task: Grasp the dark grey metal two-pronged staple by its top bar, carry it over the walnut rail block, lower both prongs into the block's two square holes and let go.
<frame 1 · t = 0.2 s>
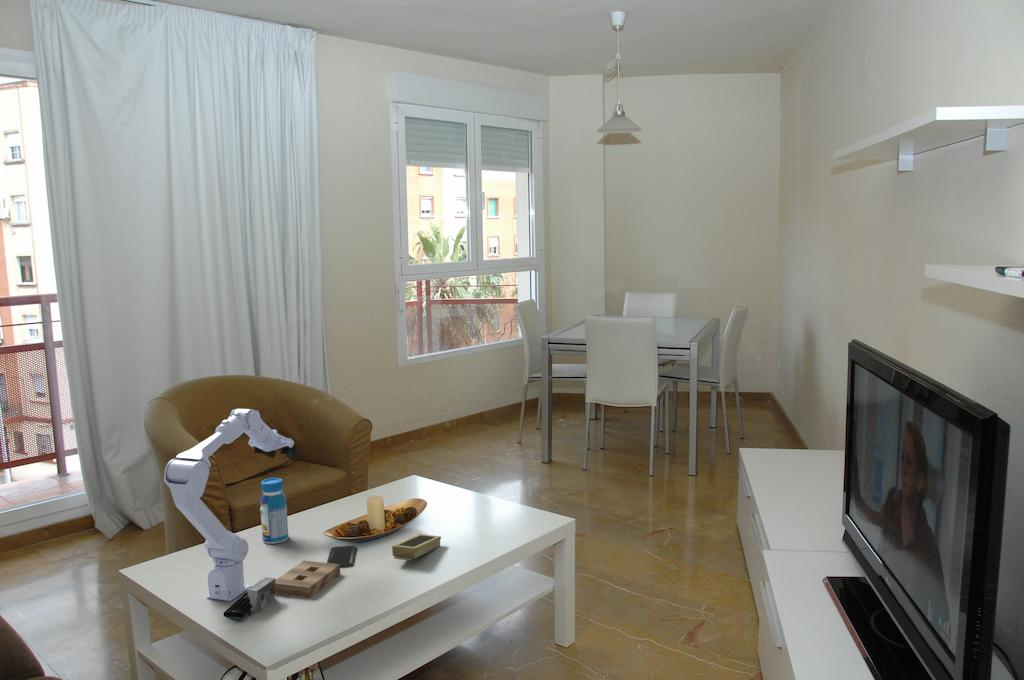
hand: (284, 455, 242), 32 cm above the table, tool tilted 50°, fingers open, 7 cm apart
rail block: (307, 583, 224), on the table
beverage bottle: (275, 540, 259), on the table
box: (419, 554, 244), on the table
metal staple: (263, 605, 211), on the table
phone: (341, 559, 242), on the table
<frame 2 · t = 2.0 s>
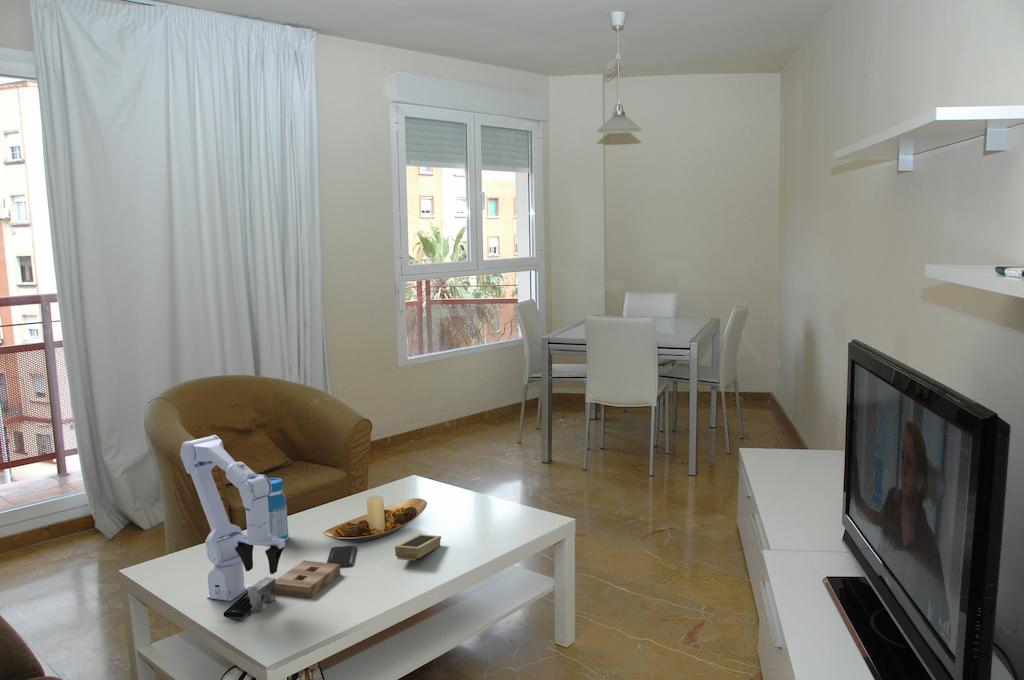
hand: (261, 571, 210), 9 cm above the table, tool pointing down, fingers open, 7 cm apart
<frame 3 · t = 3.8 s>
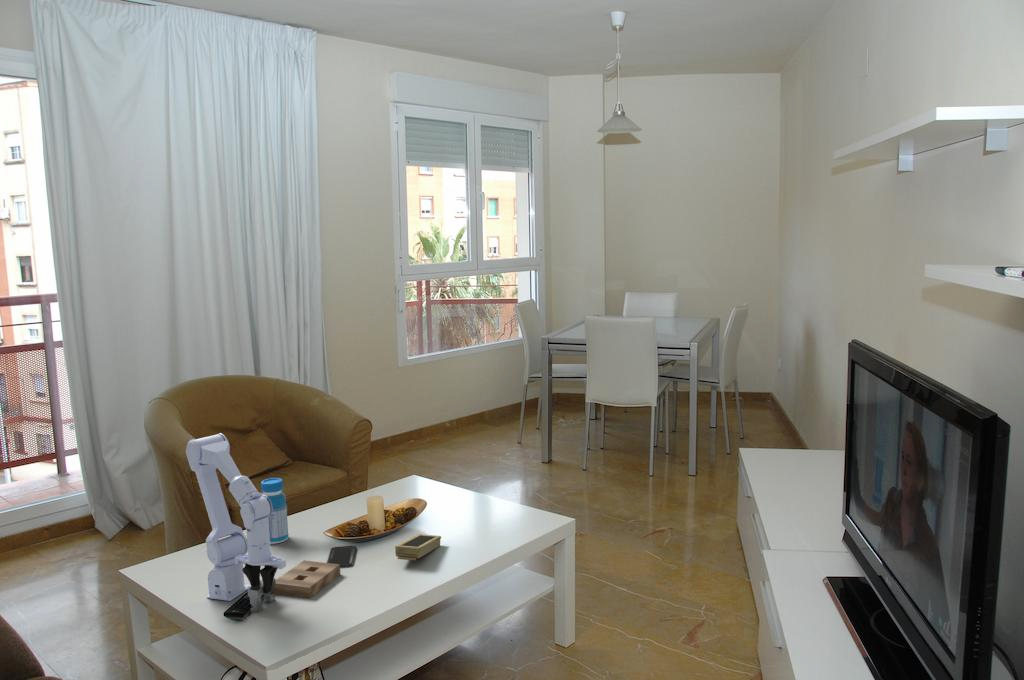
hand: (262, 591, 211), 4 cm above the table, tool pointing down, fingers closed on metal staple, 3 cm apart
metal staple: (263, 605, 211), on the table, touching gripper
everything else where it was.
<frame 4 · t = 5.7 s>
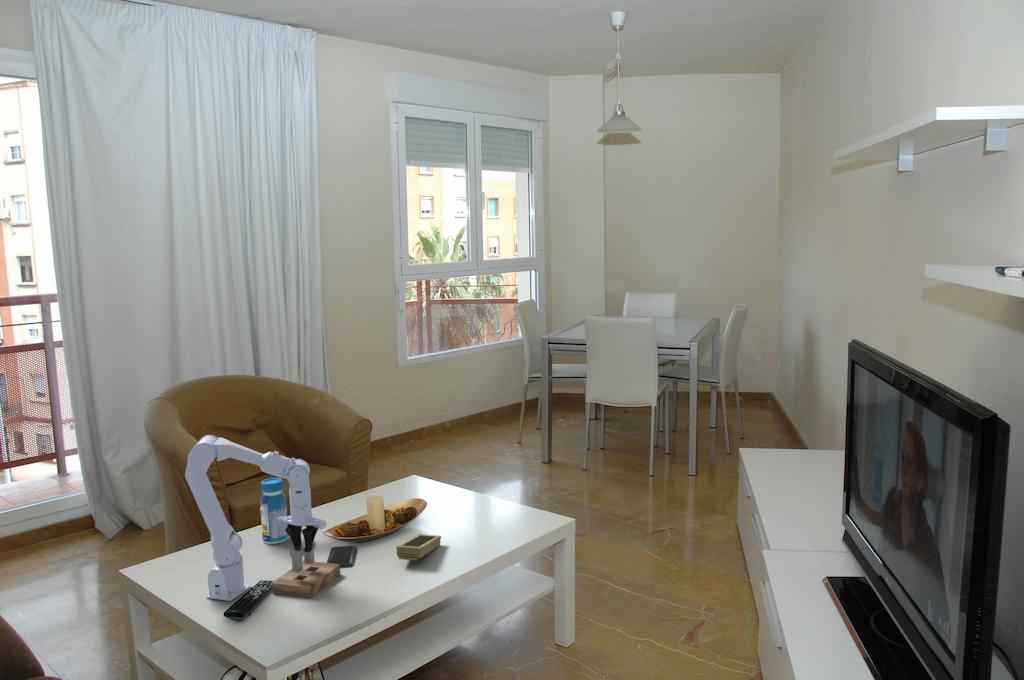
hand: (303, 550, 222), 10 cm above the table, tool pointing down, fingers closed on metal staple, 3 cm apart
metal staple: (303, 566, 222), point 5 cm above the table, touching gripper
everything else where it was.
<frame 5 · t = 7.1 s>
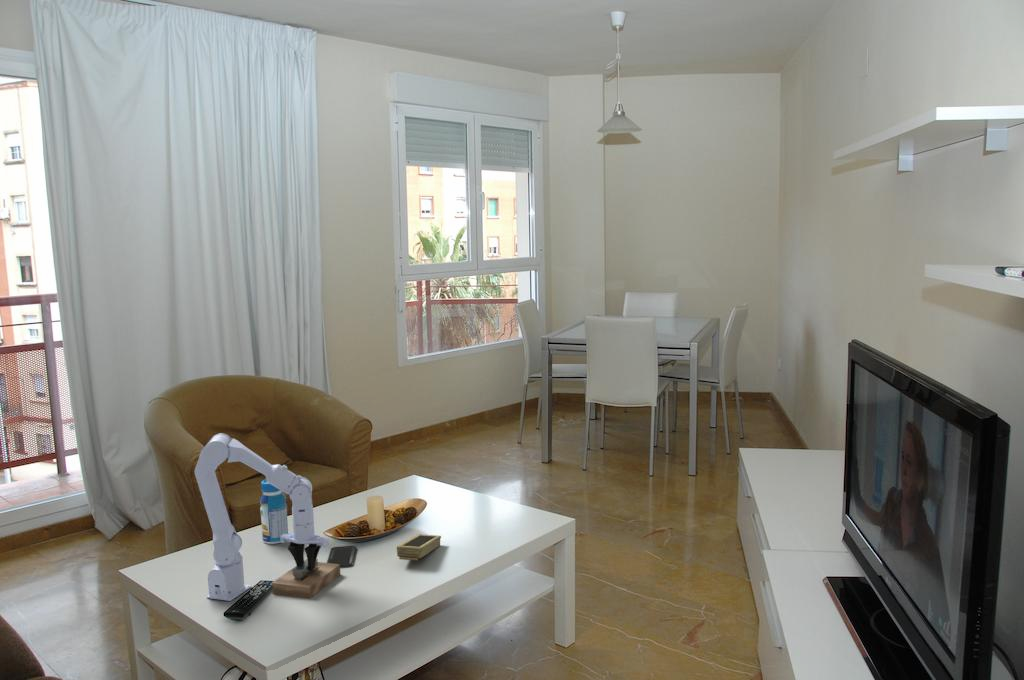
hand: (306, 568, 224), 4 cm above the table, tool pointing down, fingers closed on metal staple, 3 cm apart
metal staple: (306, 584, 224), on the table, touching gripper
everything else where it was.
when the fingers open (4 cm above the table, at t = 7.8 s): metal staple stays where it is, on the table.
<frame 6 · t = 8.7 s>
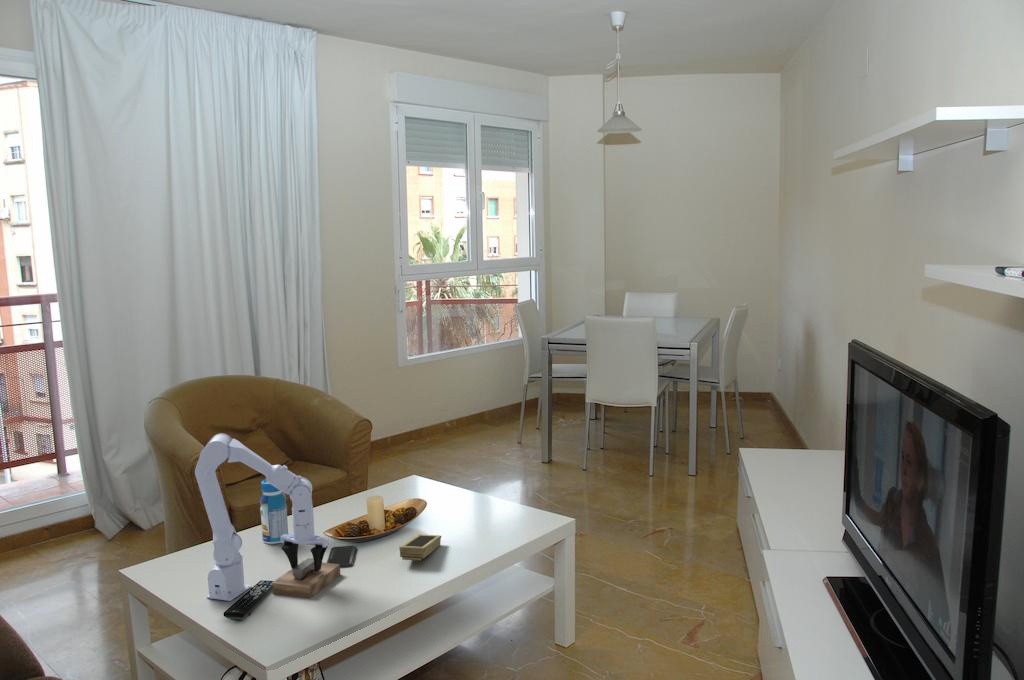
hand: (306, 568, 224), 4 cm above the table, tool pointing down, fingers open, 7 cm apart
metal staple: (306, 584, 224), on the table
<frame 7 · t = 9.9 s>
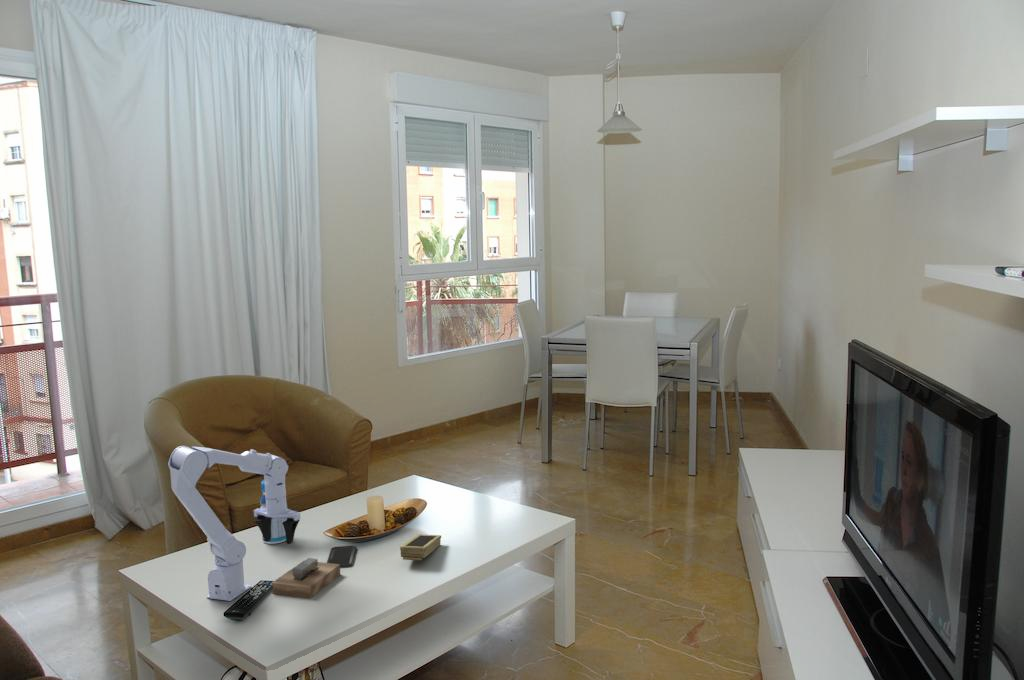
hand: (278, 541, 230), 10 cm above the table, tool pointing down, fingers open, 7 cm apart
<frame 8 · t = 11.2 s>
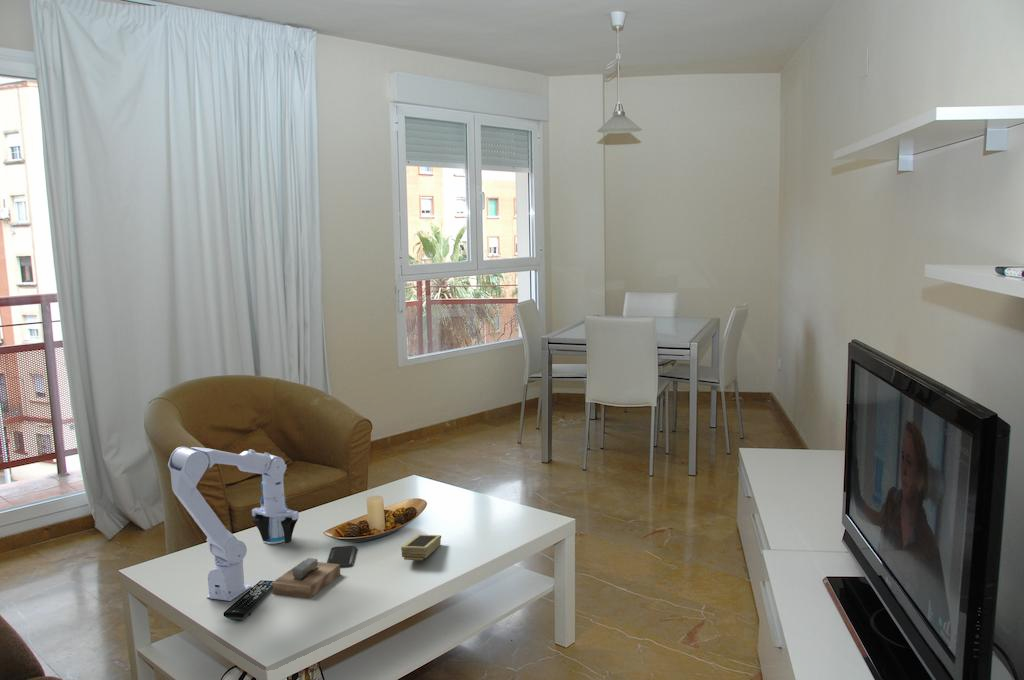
hand: (276, 541, 230), 10 cm above the table, tool pointing down, fingers open, 7 cm apart
at the end: metal staple 0.4 cm off-centre on the rail block, point 0.0 cm above the rail block's base; metal staple tilted 0°; the gripper is holding nothing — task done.
